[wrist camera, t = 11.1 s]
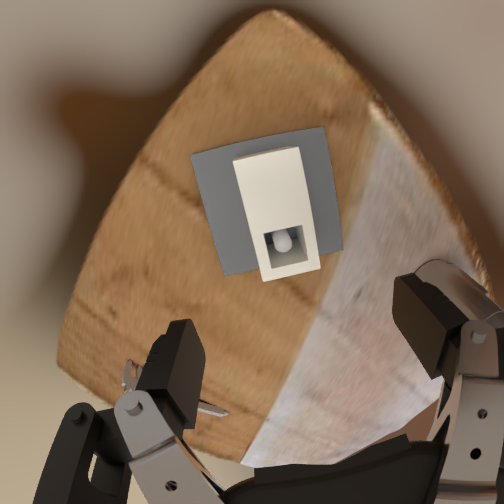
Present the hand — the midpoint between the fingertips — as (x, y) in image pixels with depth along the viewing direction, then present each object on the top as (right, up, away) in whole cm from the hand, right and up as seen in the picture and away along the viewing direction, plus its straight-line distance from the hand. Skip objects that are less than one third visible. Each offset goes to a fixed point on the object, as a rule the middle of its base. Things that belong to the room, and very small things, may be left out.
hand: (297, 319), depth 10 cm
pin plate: (0, +8, +19) cm, 21 cm away
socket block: (+1, +8, +18) cm, 20 cm away
